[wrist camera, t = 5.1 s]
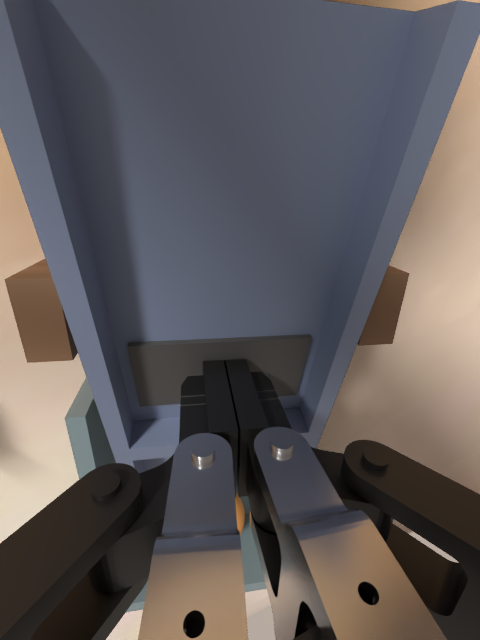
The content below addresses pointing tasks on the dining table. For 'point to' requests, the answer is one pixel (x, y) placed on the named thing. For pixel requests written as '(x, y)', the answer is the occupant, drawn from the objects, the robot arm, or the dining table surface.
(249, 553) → the cup
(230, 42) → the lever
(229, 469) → the robot arm
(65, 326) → the lever stand
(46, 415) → the dining table surface
